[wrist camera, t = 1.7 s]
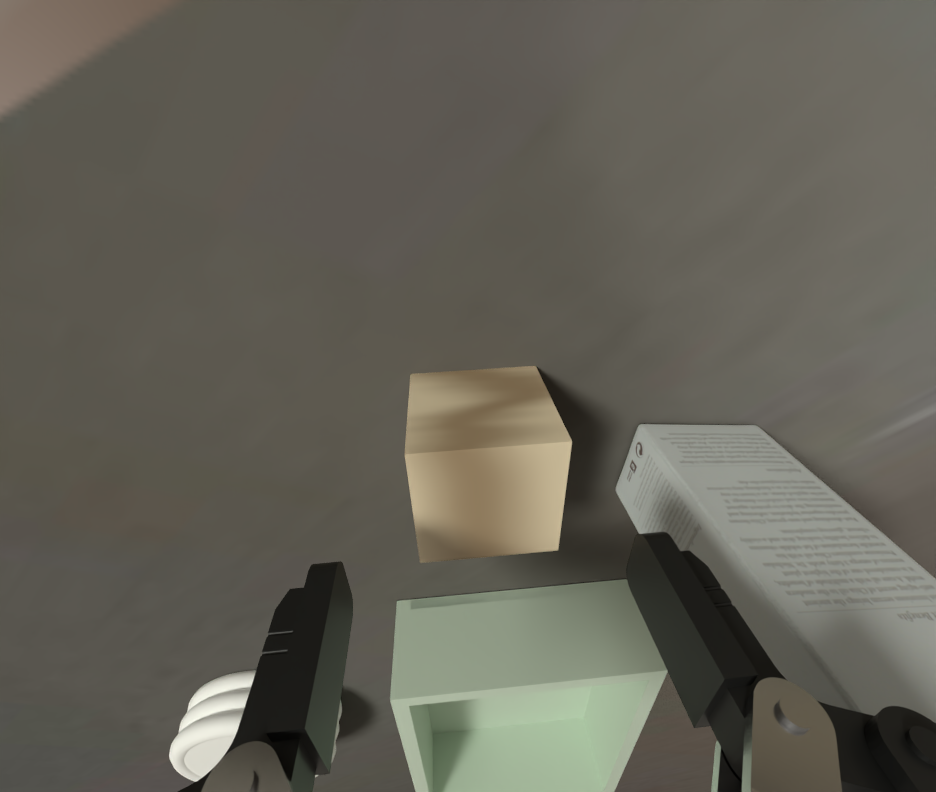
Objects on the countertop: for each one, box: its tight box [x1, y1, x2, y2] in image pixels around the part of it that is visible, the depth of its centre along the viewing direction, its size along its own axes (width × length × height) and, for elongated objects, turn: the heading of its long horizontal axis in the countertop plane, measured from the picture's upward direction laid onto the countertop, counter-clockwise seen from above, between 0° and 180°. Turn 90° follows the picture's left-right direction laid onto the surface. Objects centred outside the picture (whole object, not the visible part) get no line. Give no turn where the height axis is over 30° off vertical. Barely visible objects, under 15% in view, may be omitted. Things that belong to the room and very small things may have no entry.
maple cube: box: [405, 366, 572, 563], centre depth 16 cm, size 5×5×5 cm
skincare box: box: [616, 424, 936, 723], centre depth 15 cm, size 6×4×12 cm
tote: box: [390, 579, 668, 792], centre depth 27 cm, size 14×18×5 cm
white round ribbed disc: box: [169, 670, 342, 782], centre depth 28 cm, size 10×10×4 cm
